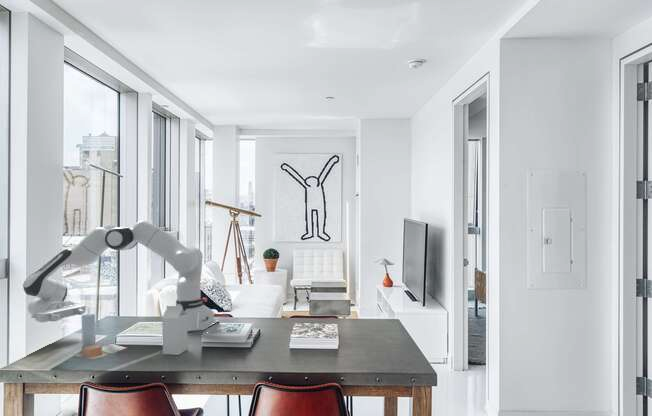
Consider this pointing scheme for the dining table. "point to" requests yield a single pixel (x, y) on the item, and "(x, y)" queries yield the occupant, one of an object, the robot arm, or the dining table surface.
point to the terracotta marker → (92, 350)
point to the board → (104, 351)
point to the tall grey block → (88, 330)
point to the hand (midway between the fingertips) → (71, 315)
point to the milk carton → (174, 330)
